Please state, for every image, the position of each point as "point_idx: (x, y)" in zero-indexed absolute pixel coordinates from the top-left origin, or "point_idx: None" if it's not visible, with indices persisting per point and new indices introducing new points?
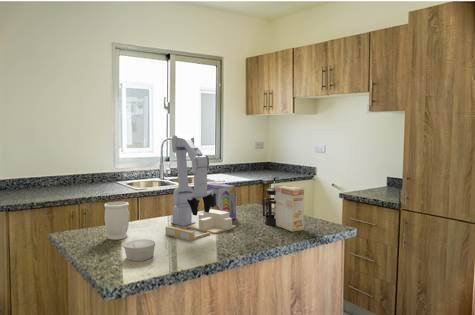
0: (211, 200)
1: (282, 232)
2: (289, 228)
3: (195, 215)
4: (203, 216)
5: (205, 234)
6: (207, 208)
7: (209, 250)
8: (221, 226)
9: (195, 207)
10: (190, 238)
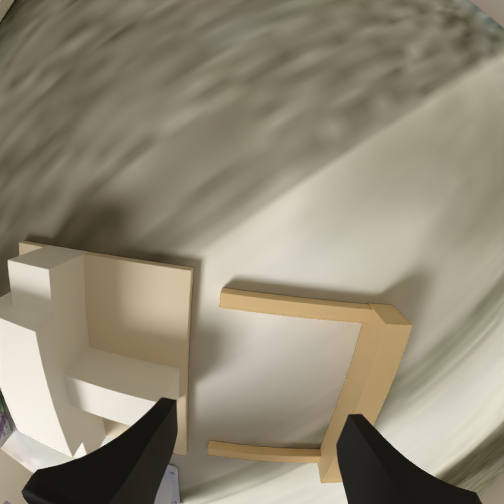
0: (91, 474)
1: (27, 11)
2: (1, 9)
3: (361, 418)
4: (85, 437)
5: (267, 296)
6: (164, 434)
7: (468, 116)
8: (81, 298)
9: (414, 466)
10: (397, 312)
